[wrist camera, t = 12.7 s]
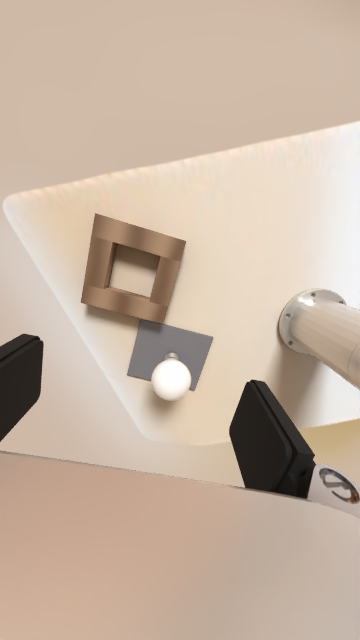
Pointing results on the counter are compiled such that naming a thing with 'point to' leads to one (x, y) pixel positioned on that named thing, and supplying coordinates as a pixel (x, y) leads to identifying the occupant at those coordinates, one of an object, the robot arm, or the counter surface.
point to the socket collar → (101, 265)
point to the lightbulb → (171, 378)
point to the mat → (168, 349)
